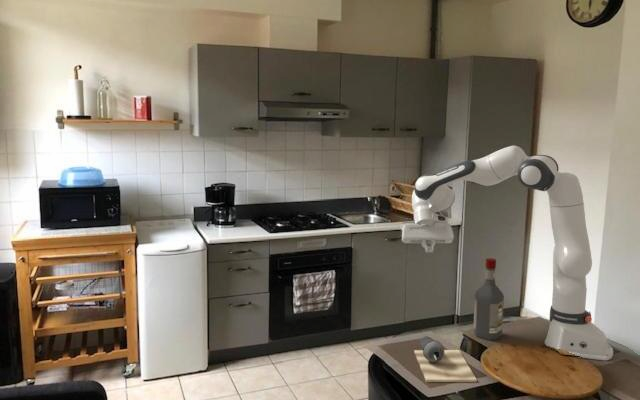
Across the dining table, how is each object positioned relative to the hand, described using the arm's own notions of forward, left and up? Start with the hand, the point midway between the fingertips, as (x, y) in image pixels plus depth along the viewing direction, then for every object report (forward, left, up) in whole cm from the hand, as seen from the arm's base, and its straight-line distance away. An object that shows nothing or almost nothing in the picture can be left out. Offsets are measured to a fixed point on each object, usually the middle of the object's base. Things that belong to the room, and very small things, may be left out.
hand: (429, 251), depth 213 cm
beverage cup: (-6, +19, -29) cm, 35 cm away
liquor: (-22, -4, -32) cm, 39 cm away
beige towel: (-16, +29, -31) cm, 46 cm away
